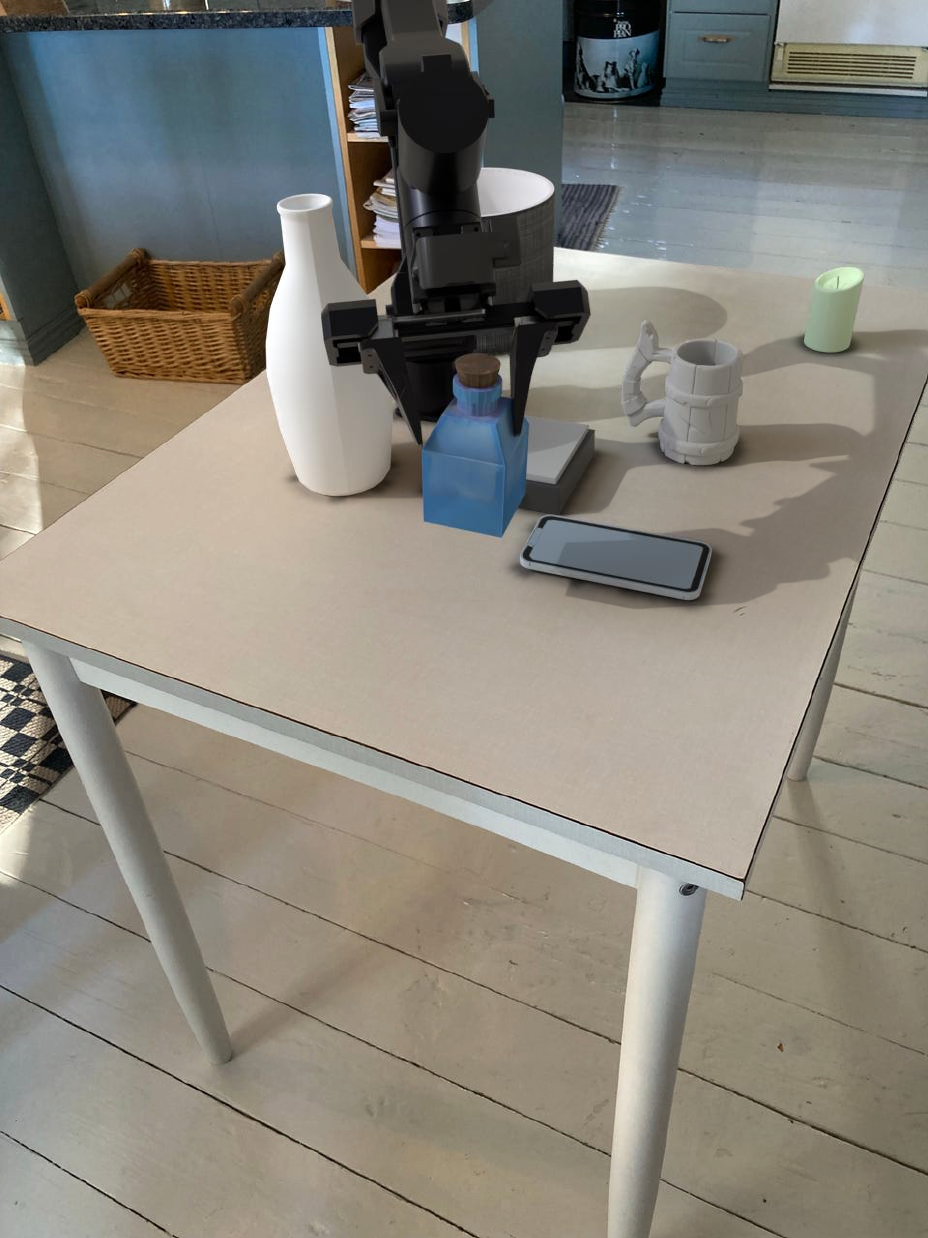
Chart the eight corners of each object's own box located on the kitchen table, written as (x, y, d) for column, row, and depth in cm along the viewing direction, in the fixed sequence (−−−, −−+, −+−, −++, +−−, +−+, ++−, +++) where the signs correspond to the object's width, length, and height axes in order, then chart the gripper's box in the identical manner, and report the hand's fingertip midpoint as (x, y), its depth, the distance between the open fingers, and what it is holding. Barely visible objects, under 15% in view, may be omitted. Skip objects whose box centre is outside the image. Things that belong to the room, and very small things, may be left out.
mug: (726, 474, 93) (742, 353, 85) (605, 451, 97) (611, 334, 90) (745, 435, 98) (762, 319, 91) (630, 415, 102) (637, 302, 95)
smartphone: (698, 596, 78) (516, 560, 82) (697, 605, 79) (516, 569, 83) (714, 543, 83) (542, 512, 88) (712, 552, 84) (542, 521, 88)
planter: (518, 366, 112) (516, 224, 102) (381, 343, 119) (367, 207, 109) (574, 306, 125) (577, 174, 114) (447, 288, 131) (440, 162, 121)
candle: (817, 355, 111) (830, 283, 106) (795, 337, 115) (807, 267, 109) (858, 349, 112) (873, 277, 106) (835, 331, 115) (849, 261, 110)
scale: (425, 493, 93) (422, 460, 91) (470, 435, 101) (469, 403, 99) (557, 517, 89) (558, 484, 87) (594, 454, 97) (595, 422, 95)
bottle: (421, 455, 98) (397, 186, 82) (366, 514, 91) (328, 230, 75) (324, 435, 102) (283, 176, 86) (264, 491, 95) (207, 217, 78)
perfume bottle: (501, 537, 74) (507, 391, 66) (423, 521, 75) (420, 375, 67) (525, 493, 78) (533, 351, 70) (451, 479, 80) (450, 338, 72)
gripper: (301, 183, 63) (328, 423, 62) (589, 158, 64) (621, 393, 63) (317, 260, 74) (341, 464, 73) (563, 237, 76) (589, 438, 74)
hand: (468, 440), depth 71 cm, fingers closed on perfume bottle, 7 cm apart
